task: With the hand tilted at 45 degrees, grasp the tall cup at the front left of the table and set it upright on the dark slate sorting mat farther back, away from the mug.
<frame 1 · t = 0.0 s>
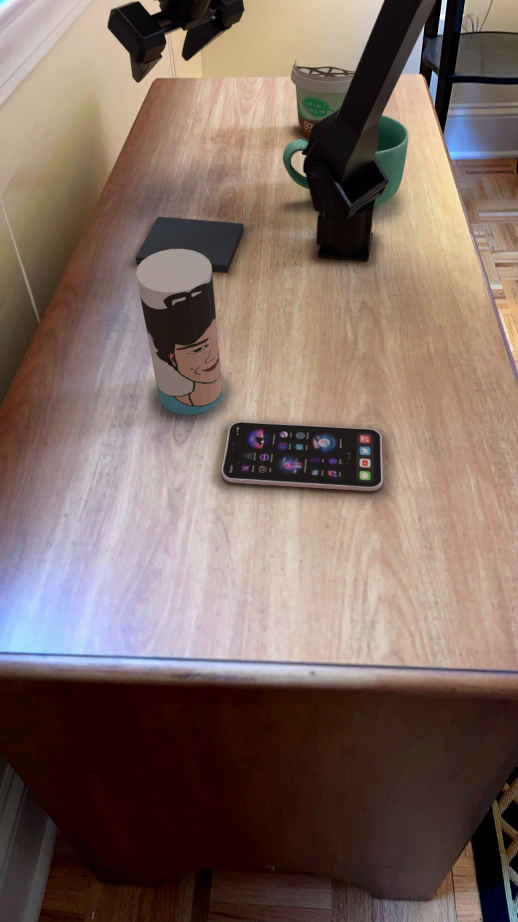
hand: (160, 68, 92), 15 cm above the table, tool tilted 35°, fingers open, 9 cm apart
mug: (340, 200, 98), on the table
smartphone: (302, 458, 66), on the table
slate mat: (191, 246, 91), on the table
cup: (190, 393, 73), on the table
food container: (323, 138, 111), on the table
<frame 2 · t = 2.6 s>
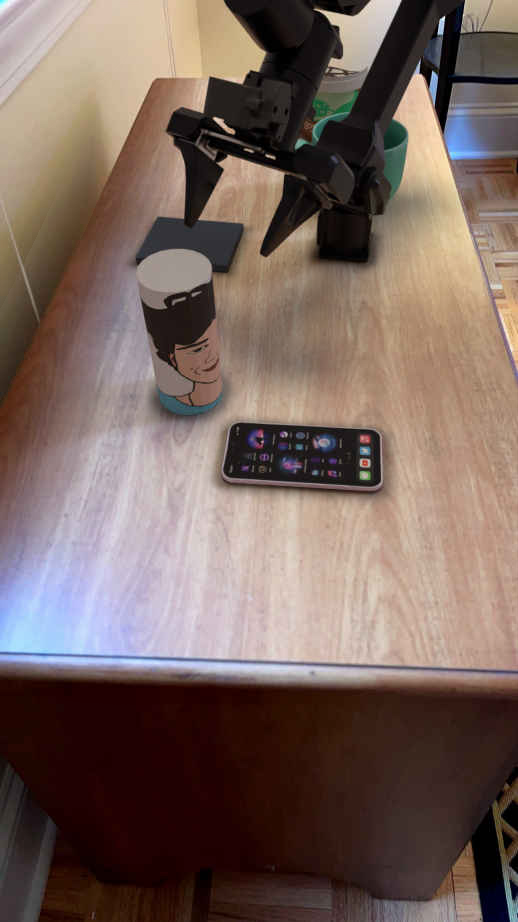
hand: (224, 241, 67), 14 cm above the table, tool tilted 45°, fingers open, 9 cm apart
nothing on the table moved.
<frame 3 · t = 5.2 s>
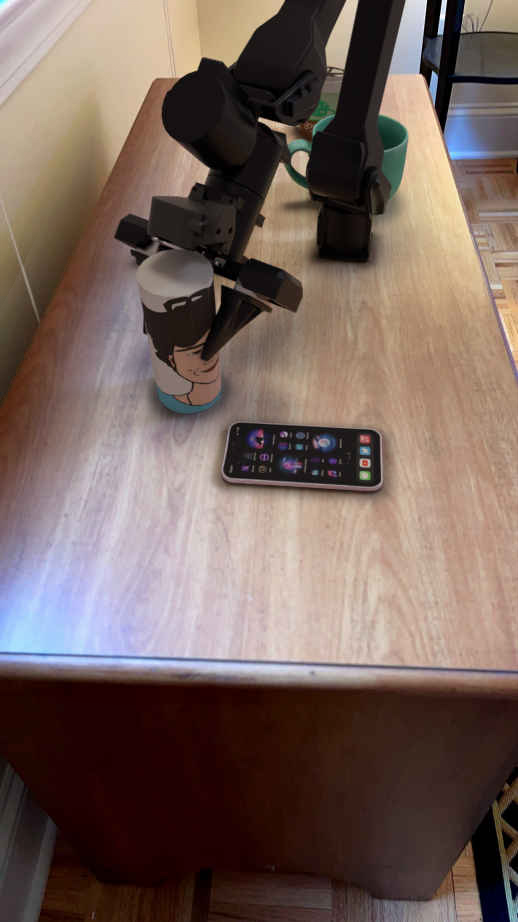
hand: (174, 347, 66), 7 cm above the table, tool tilted 45°, fingers closed on cup, 7 cm apart
cup: (189, 391, 73), on the table, touching gripper
everything else where it was.
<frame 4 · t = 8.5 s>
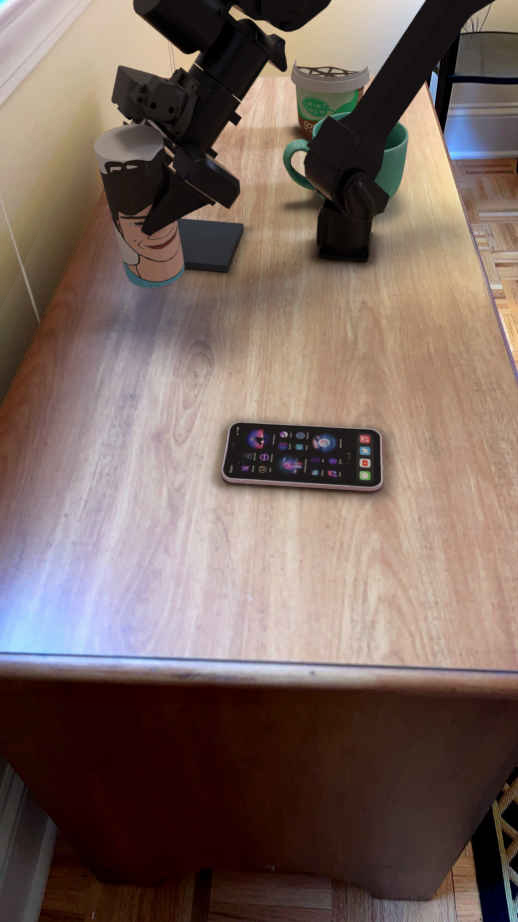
hand: (132, 217, 73), 12 cm above the table, tool tilted 45°, fingers closed on cup, 7 cm apart
cup: (155, 270, 79), point 5 cm above the table, touching gripper
everything else where it was.
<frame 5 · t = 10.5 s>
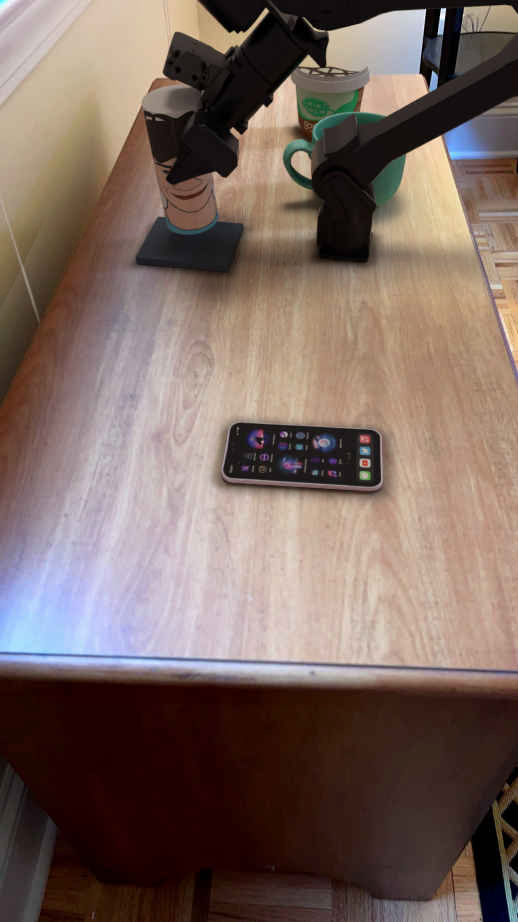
hand: (172, 167, 83), 11 cm above the table, tool tilted 45°, fingers closed on cup, 7 cm apart
cup: (192, 220, 88), point 4 cm above the table, touching gripper
everything else where it was.
when the fingers open (8 cm above the table, at t = 11.8 s): cup stays where it is, resting on slate mat.
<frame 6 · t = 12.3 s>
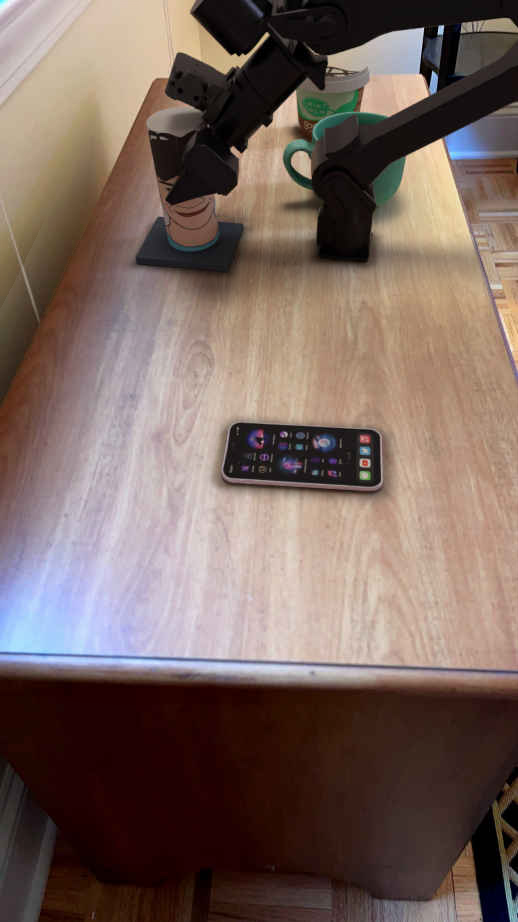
hand: (173, 183, 84), 9 cm above the table, tool tilted 45°, fingers open, 9 cm apart
cup: (193, 238, 90), point 1 cm above the table, touching slate mat
everything else where it was.
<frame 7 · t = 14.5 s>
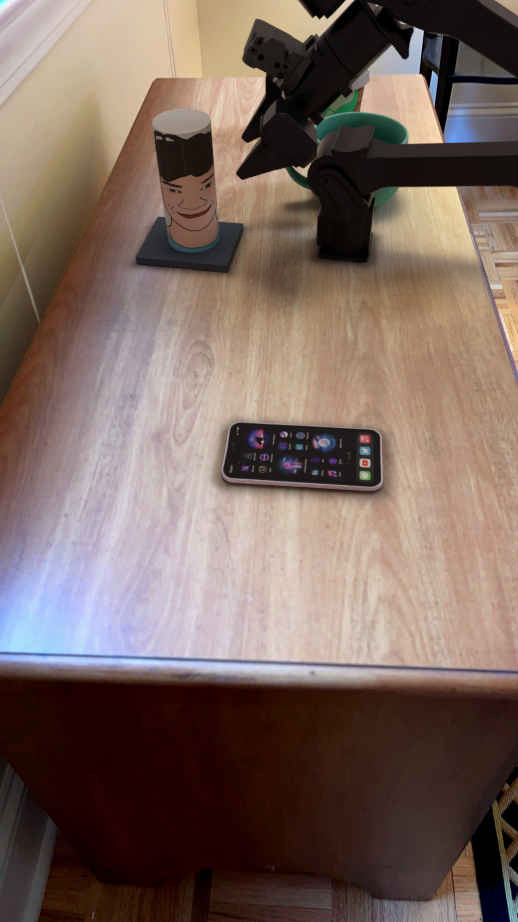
hand: (241, 157, 82), 12 cm above the table, tool tilted 45°, fingers open, 9 cm apart
nothing on the table moved.
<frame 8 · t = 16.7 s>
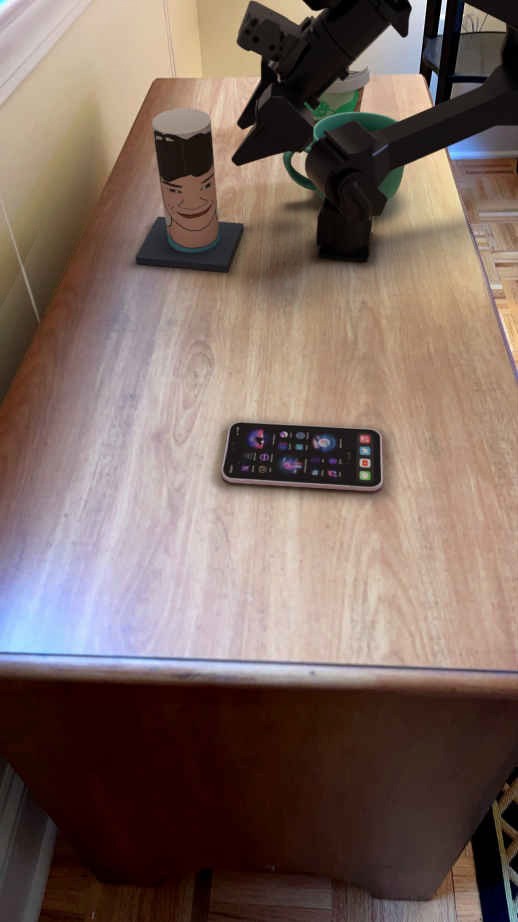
hand: (236, 144, 80), 14 cm above the table, tool tilted 45°, fingers open, 9 cm apart
nothing on the table moved.
at the end: cup inside the target area on the slate mat (0.5 cm from its centre), point 0.8 cm above the slate mat's base; cup tilted 0°; the gripper is holding nothing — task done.
